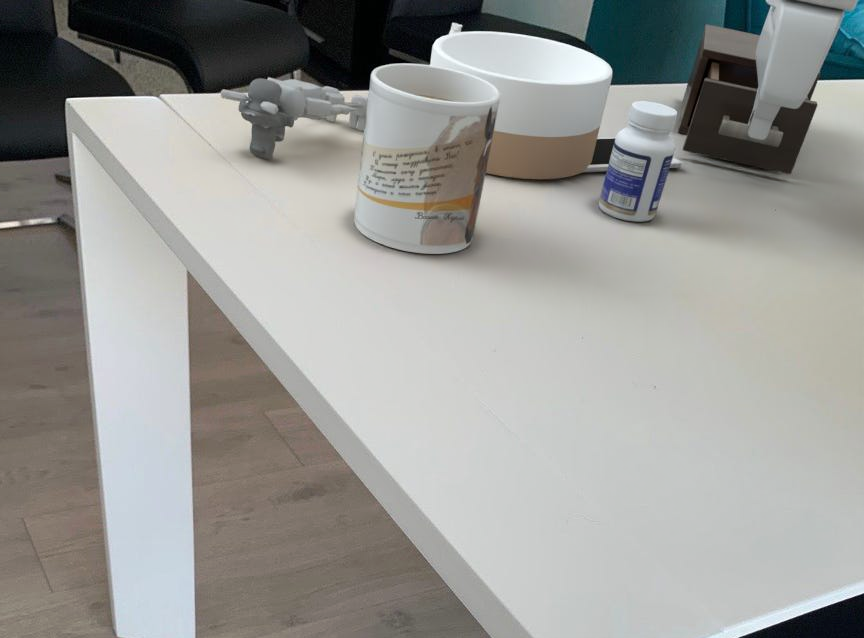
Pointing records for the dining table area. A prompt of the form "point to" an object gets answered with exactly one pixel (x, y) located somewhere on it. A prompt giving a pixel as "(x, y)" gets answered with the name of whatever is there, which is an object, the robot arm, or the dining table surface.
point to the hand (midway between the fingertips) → (755, 134)
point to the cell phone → (604, 154)
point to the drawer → (744, 122)
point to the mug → (424, 157)
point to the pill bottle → (639, 163)
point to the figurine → (290, 109)
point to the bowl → (534, 99)
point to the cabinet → (721, 48)
